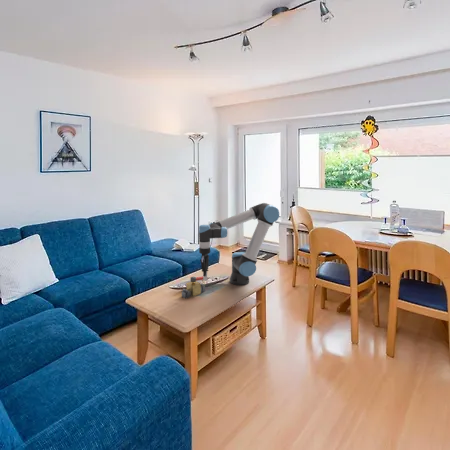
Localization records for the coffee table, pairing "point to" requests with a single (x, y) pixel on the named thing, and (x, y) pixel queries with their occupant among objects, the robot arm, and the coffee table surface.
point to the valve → (193, 289)
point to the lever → (196, 279)
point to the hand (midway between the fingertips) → (205, 280)
